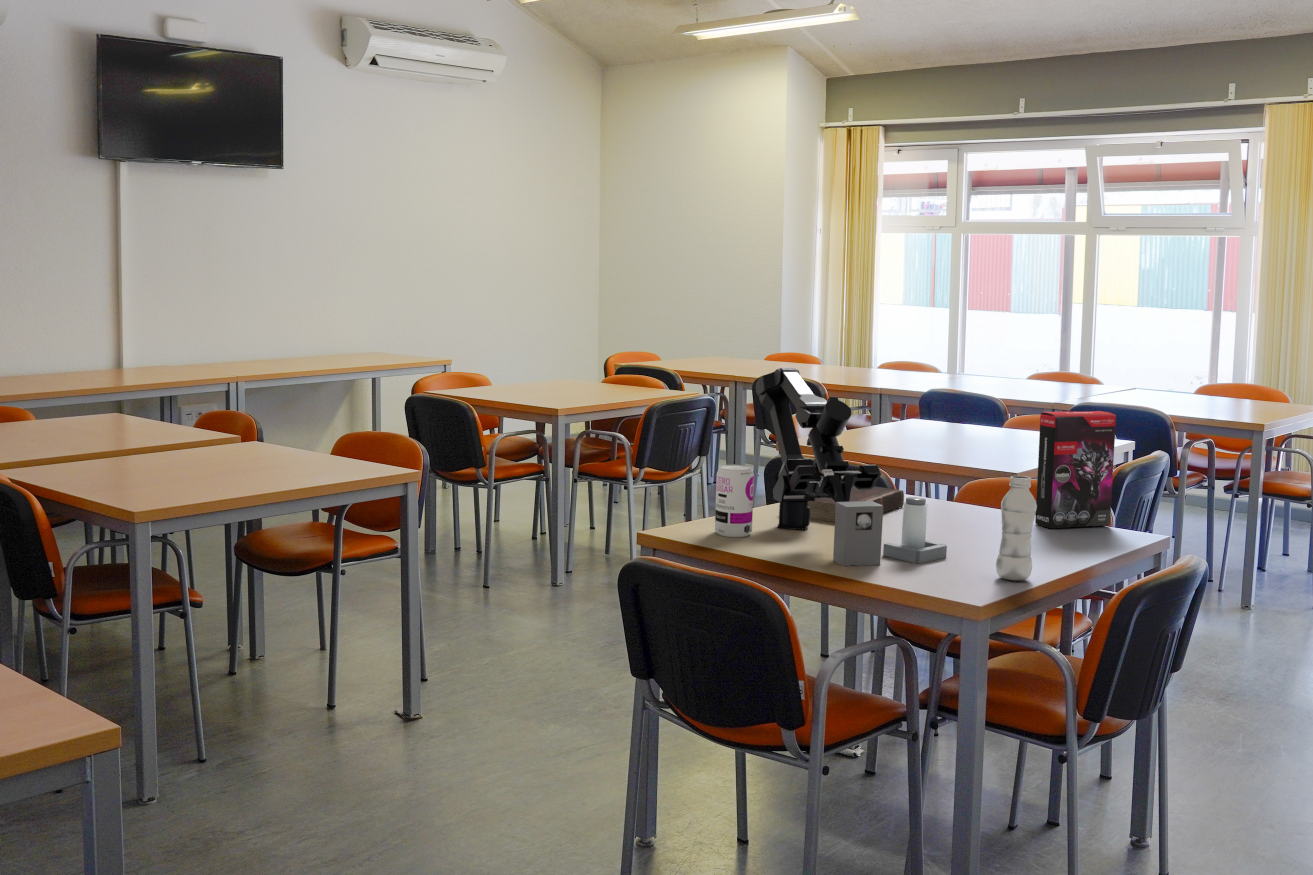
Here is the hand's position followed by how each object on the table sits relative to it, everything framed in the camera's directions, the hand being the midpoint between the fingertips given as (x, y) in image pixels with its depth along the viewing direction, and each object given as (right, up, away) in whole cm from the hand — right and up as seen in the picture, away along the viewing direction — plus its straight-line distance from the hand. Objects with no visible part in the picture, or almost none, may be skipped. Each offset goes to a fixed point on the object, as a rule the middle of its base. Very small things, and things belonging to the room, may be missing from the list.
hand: (845, 510), depth 234 cm
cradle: (+14, -9, +3) cm, 17 cm away
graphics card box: (+60, -6, +37) cm, 71 cm away
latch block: (+1, -10, -5) cm, 11 cm away
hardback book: (+8, -4, +49) cm, 50 cm away
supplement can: (-22, -7, +19) cm, 30 cm away
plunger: (+1, -3, -4) cm, 5 cm away
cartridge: (+14, -10, +3) cm, 17 cm away
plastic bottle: (+30, -13, -15) cm, 35 cm away
